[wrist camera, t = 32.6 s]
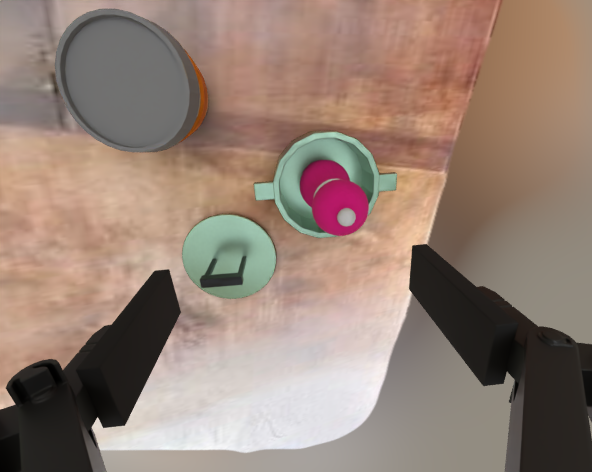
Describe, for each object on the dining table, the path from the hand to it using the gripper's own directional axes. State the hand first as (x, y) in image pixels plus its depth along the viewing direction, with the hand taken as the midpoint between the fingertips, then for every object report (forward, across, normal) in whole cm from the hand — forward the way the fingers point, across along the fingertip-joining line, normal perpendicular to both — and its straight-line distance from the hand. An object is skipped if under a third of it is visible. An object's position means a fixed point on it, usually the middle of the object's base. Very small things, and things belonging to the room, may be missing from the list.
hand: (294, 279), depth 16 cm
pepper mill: (+32, +6, -2) cm, 33 cm away
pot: (+32, +6, -2) cm, 33 cm away
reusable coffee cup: (+33, -14, +12) cm, 38 cm away
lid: (+32, -10, -13) cm, 36 cm away
